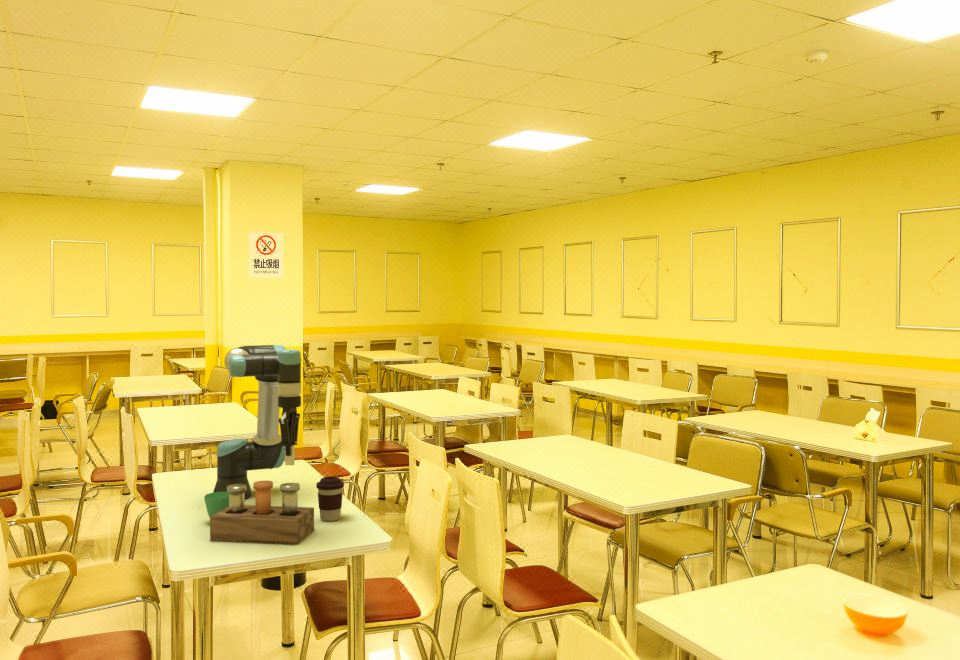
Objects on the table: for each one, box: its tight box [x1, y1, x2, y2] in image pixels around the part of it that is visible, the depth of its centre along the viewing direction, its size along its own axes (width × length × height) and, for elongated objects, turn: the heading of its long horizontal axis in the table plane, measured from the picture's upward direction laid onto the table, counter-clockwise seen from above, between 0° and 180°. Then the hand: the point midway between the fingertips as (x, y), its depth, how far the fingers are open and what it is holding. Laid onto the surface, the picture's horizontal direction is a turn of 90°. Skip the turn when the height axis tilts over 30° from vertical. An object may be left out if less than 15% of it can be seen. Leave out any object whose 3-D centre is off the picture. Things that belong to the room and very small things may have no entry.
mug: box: [203, 492, 229, 519], centre depth 262 cm, size 15×10×10 cm
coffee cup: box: [315, 476, 345, 522], centre depth 265 cm, size 10×10×15 cm
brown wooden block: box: [209, 504, 315, 546], centre depth 246 cm, size 16×30×8 cm, turn 83°
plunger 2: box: [279, 482, 301, 516], centre depth 244 cm, size 6×6×11 cm
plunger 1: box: [227, 484, 247, 514], centre depth 247 cm, size 6×6×11 cm
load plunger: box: [252, 480, 274, 515], centre depth 245 cm, size 6×6×11 cm
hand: (289, 464), depth 244 cm, fingers closed
